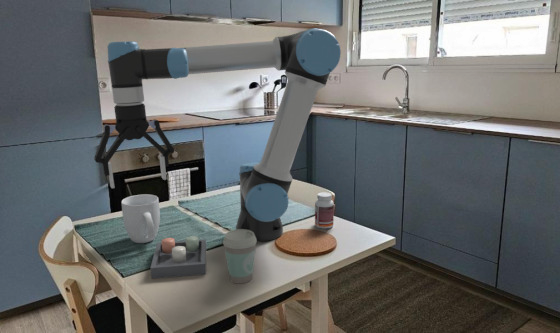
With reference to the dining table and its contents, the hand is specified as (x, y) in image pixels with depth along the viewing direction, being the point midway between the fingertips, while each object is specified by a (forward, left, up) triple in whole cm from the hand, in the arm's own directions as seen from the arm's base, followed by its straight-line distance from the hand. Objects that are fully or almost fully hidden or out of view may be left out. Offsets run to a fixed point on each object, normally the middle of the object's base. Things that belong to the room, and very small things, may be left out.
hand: (138, 182), depth 120 cm
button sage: (-13, 0, -20) cm, 24 cm away
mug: (+2, -14, -23) cm, 27 cm away
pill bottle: (-56, -16, -23) cm, 62 cm away
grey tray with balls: (-10, +3, -23) cm, 25 cm away
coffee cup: (-26, +15, -23) cm, 38 cm away
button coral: (-7, 0, -20) cm, 21 cm away
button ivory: (-10, +7, -20) cm, 23 cm away
